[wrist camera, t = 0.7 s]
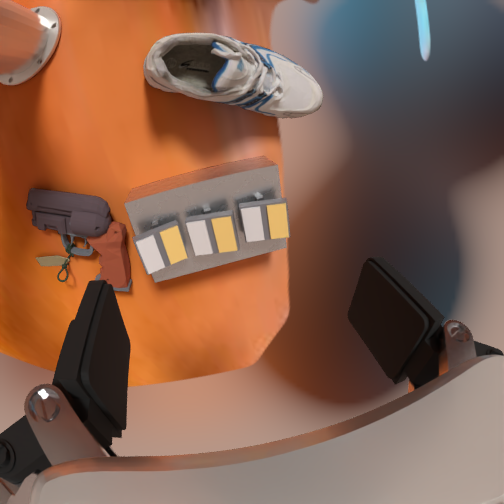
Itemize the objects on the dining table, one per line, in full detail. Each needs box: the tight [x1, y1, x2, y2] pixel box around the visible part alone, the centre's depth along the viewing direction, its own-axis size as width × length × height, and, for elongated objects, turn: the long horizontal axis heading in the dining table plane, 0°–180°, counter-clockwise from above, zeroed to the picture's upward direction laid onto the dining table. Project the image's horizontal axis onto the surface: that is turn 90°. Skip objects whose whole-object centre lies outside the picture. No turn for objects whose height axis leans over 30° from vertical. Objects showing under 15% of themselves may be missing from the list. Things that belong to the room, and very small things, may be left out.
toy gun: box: [27, 188, 132, 292], centre depth 34 cm, size 18×5×15 cm
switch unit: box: [124, 156, 287, 283], centre depth 36 cm, size 19×12×7 cm, turn 99°
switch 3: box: [239, 198, 290, 242], centre depth 33 cm, size 6×5×2 cm
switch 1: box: [132, 220, 189, 275], centre depth 31 cm, size 6×5×2 cm
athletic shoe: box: [143, 33, 323, 118], centre depth 26 cm, size 10×23×12 cm, turn 84°
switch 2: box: [185, 210, 240, 256], centre depth 32 cm, size 6×5×2 cm
